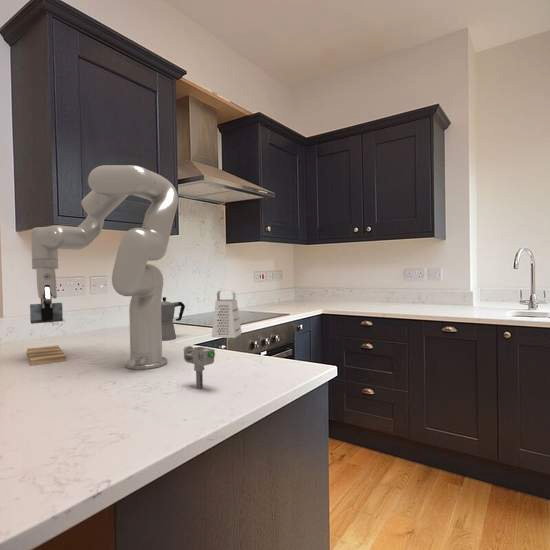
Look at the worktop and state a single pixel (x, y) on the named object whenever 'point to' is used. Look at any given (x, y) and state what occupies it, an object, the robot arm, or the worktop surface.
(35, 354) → the pine board
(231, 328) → the grater
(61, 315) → the sanding block
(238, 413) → the worktop surface
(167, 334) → the coffeepot
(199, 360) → the mechanical component
